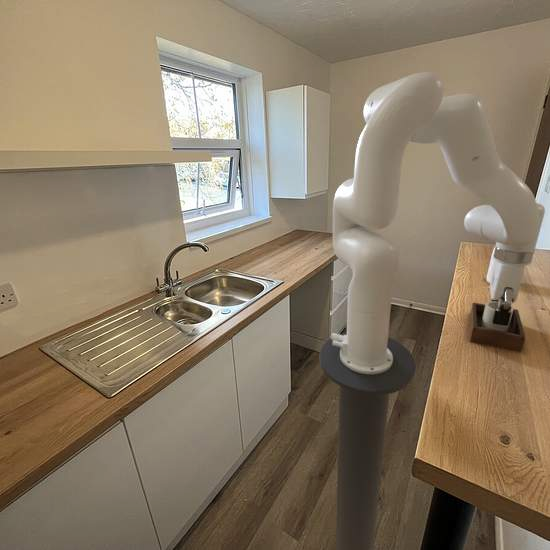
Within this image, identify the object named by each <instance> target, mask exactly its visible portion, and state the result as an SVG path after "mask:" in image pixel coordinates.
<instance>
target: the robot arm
mask: <svg viewBox="0 0 550 550" xmlns="http://www.w3.org/2000/svg"><path fill="white" fill-rule="evenodd" d="M363 120H364V121H365V123H366V124H365V125H364V127H363V130H362V131H361V134H360V136H359V139H358V142H357V145H356V149H355V150H356V151H355V157H354V159H355V160H354V170H353V177H351V178H349V179H346V180H345V181H344V182H342V183H341V185H339V187H338V188H337V189H336V192H335V194H334V197H333V202H332V246H333V252H334V254H335V256H336V257H337V258H338V260H339V261H341V262H342V263H343V264H344V265H345V266H347V267H348V268H349V269H350V270H351V271H352V277H351V280H350V282H349V285H348V289H347V299H346V300H347V309H346V313H347V314H346V332H347V335H344V336H342V335H339V334H340V333H336V332H332V333H331V335H330V338H331V340H333V342H332V345H333V346H338V347H341V349H340V359H341V361H342V362H343V364H344V365H345V366H347V367H348V368H349V369H351V370H353V371H355V372H358V373H362V374H379V373H383V372H385V371H387V370H388V369H389V368H390V367H391V366H392V363H393V355H392V353H391V352H390V350H389V349H388V348H387V342H388V337H389V331H390V320H391V319H390V318H391V309H392V298H393V289H394V284H395V280H396V277H397V273H398V270H399V268H400V263H401V256H400V251H399V249H398V247H397V246H396V245H395V243H394V242H393V241H392V240H390V239H389V238H388V237H386V236H384V235H382V234H379V233H377V232H375V231H373V230H382V229H385V228H388V227H389V226H390V225H392V223H393V222H394V220H395V218H396V216H397V212H398V211H397V210H398V206H399V196H400V183H401V171H402V170H401V169H402V163H403V157H404V153H405V150H406V148H407V146H408V144H409V142H412V143H416V144H438V145H439V148H440V151H441V153H442V155H443V158H444V160H445V163H446V166H447V168H448V170H449V174H450V176H451V179H452V181H453V182H454V183H455V184H456V185H457V186H459V187H461V188H462V189H463V190H465V191H467V192H469V193H471V194H472V195H474V196H476V197H478V198H480V199H481V200H483V201H484V202H485V203H487V204H482V205H478V206H475V207H473V208H472V209H470V210H469V211H468V212H467V213H466V215H465V217H464V220H463V226H464V228H465V230H466V231H467V232H468V233H469V234H471V235H473V236H475V237H478V238H482V239H484V240H489V241H493V242H495V246H494V248H495V251H494V256H493V259H494V260H495V261H496V264H495V268H494V272H493V276H492V280H491V283H489V292H490V294H489V295H490V298H491V301H496V302H498V304H497V309H495V313H494V317H493V324H498V325H503V326H508V324H509V320H510V316H511V310H512V307H513V304H514V303H516V301H517V299H518V296H519V292H520V289H521V284H522V281H523V276H524V272H525V271H524V270H525V266H529V265H531V264H532V261H533V259H534V254H535V250H536V247H537V243H538V239H539V235H540V232H541V228H542V225H543V221H544V217H545V212H546V208H545V206H544V205H542V204H541V203H538V202H537V199H536V197H535V195H534V193H533V192H532V190H531V189H530V187H529V186H528V185H527V184H526V183H525V182H524V181H523V179H521V178H520V177H519V176H518V175H517V174H516V173H515V172H514V171H513V170H512V169H511V168H510V167H508V166H507V165H506V164H505V163H503V161H502V160H501V158H500V156H499V153H498V149H497V145H496V143H495V139H494V136H493V133H492V128H491V124H490V122H489V119H488V115H487V111H486V108H485V106H484V102H483V101H482V99H481V98H480V97H479V96H478V95H476V94H474V93H468V92H464V93H462V92H461V93H456V94H451V95H446V96H444V83H443V80H442V78H441V77H440V76H439V75H438V74H436V73H434V72H430V71H423V72H422V71H421V72H416V73H412V74H410V75H407V76H404V77H402V78H399V79H397V80H395V81H392V82H389V83H386V84H383V85H382V86H379V87H378V88H376V89H374V91H372V92H371V93H370V94H369V95H368V96H367V98H366V101H365V103H364V107H363ZM491 301H490V302H491ZM501 302H502V303H504V304H502V305H501ZM500 306H501V307H500Z"/></svg>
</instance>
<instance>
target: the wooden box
mask: <svg viewBox="0 0 550 550" xmlns="http://www.w3.org/2000/svg"><path fill="white" fill-rule="evenodd" d="M471 304H472V305H471V308H470V309H471V310H470V313H469V342H470V343H471V342H473V343H476V344H481V345H485V346H490V347H495V348H500V349H503V350H504V349H505V350H509V351H514V352H517V353H522V350H523V347H524V345H525V340H526V334H525V331H524V327H523V323H522V320H521V316H520V313H519V309H516V308H513V309H514V310H513V314H512V317H511V321H510V325H509V328H508V332H502V331H497V330H492V329H486V328H481V327H480V326H481V322H482V317H483V313H484V309H485V304H486V303H485V304H484V303H478V302H472V303H471Z"/></svg>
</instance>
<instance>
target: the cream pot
mask: <svg viewBox="0 0 550 550" xmlns="http://www.w3.org/2000/svg"><path fill="white" fill-rule="evenodd" d="M497 304H498V302H496V301H487V302H486V303H485V309H484V313H483V317H482V322H481V326H480V327H481V328H486V329H492V330H497V331H502V332H508V328H509V325H510V321H511V317H512V314H513V310H514V309H515V308H514V307H513V306H512V310H511V316H510V320H509V324H508V326H503V325H498V324H493V317H494V313H495V309H497ZM502 304H504V303H502V302H501V305H502ZM500 307H501V306H500Z"/></svg>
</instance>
